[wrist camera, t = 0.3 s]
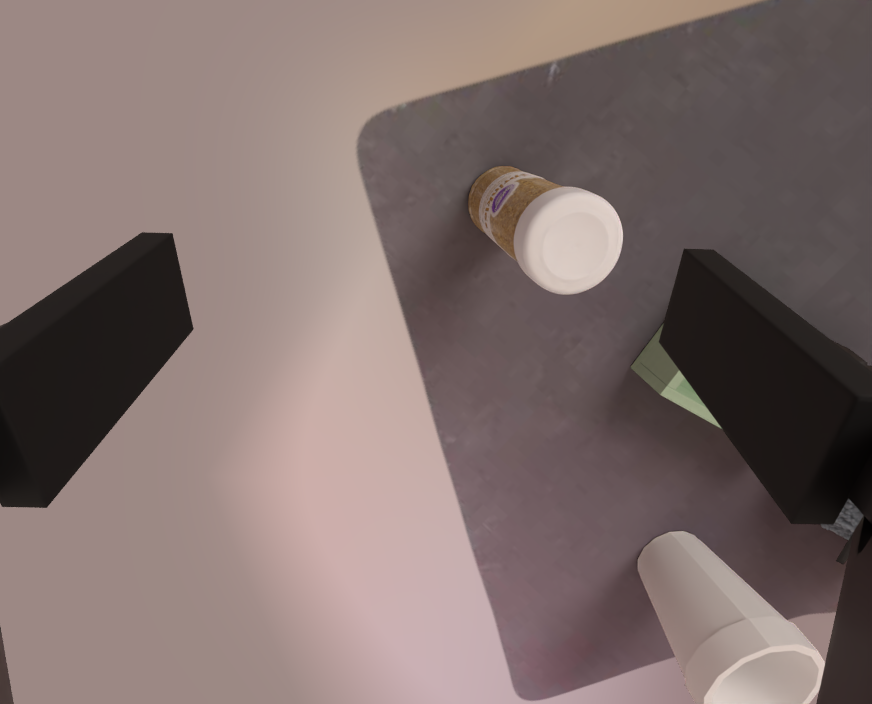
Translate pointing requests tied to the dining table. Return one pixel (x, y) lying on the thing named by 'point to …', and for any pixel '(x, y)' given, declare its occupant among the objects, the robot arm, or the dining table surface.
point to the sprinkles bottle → (548, 228)
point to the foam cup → (725, 629)
